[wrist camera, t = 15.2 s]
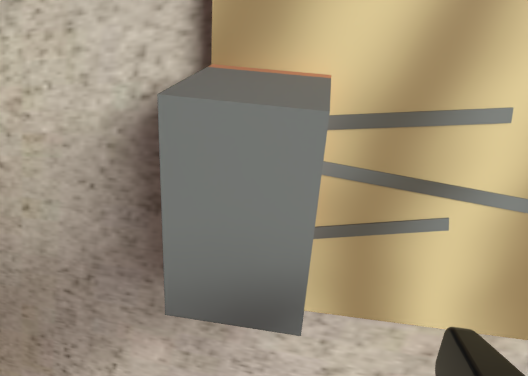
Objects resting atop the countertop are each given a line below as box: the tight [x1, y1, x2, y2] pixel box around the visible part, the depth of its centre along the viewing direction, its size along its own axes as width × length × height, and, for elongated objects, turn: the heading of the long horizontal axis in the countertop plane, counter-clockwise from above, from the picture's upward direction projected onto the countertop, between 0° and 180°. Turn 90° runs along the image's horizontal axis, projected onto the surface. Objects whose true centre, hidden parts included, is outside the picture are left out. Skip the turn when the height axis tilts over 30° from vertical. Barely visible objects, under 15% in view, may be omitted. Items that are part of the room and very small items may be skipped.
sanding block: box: [157, 64, 331, 336], centre depth 13 cm, size 4×6×5 cm, turn 176°
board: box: [211, 0, 528, 340], centre depth 16 cm, size 14×13×1 cm
